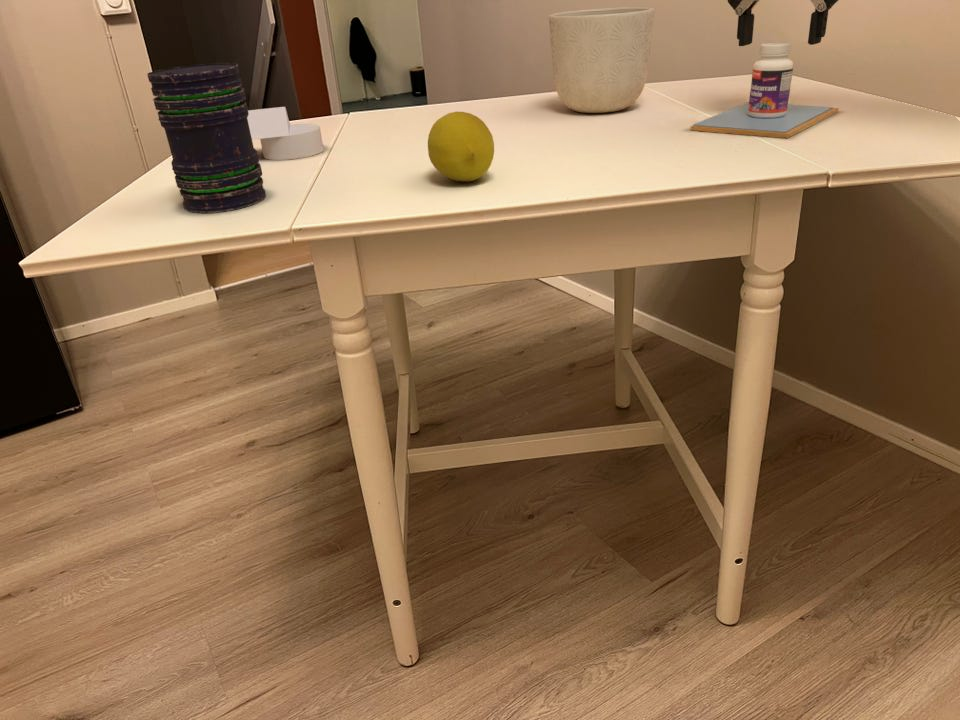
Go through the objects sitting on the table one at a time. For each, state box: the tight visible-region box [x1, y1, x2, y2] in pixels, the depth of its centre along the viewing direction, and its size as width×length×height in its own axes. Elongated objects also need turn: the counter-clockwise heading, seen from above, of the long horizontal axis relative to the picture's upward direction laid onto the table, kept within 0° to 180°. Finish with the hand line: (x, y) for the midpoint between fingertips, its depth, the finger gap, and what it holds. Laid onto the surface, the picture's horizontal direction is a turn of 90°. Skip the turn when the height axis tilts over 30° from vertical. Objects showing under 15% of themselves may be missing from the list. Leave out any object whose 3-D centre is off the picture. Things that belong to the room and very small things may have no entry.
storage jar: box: [146, 62, 267, 214], centre depth 82 cm, size 10×10×15 cm
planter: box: [548, 6, 655, 114], centre depth 119 cm, size 17×17×15 cm
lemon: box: [427, 111, 495, 183], centre depth 85 cm, size 11×8×8 cm
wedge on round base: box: [247, 106, 325, 161], centre depth 106 cm, size 9×7×13 cm
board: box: [690, 101, 839, 139], centre depth 105 cm, size 14×20×1 cm
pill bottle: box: [748, 41, 794, 118], centre depth 102 cm, size 5×5×10 cm
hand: (778, 44), depth 99 cm, fingers open, 9 cm apart
